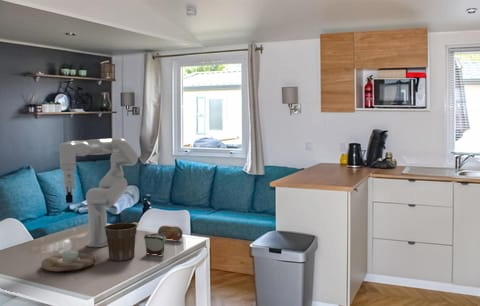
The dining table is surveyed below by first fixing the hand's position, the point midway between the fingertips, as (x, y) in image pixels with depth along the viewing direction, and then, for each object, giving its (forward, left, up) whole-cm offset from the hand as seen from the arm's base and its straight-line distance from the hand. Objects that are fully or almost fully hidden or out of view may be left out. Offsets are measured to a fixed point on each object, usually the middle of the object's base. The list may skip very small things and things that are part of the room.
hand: (69, 202), depth 235 cm
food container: (-41, +17, -27) cm, 52 cm away
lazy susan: (+2, +19, -26) cm, 32 cm away
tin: (-54, -6, -27) cm, 61 cm away
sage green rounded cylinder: (+1, +20, -24) cm, 31 cm away
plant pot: (-23, +16, -27) cm, 39 cm away
